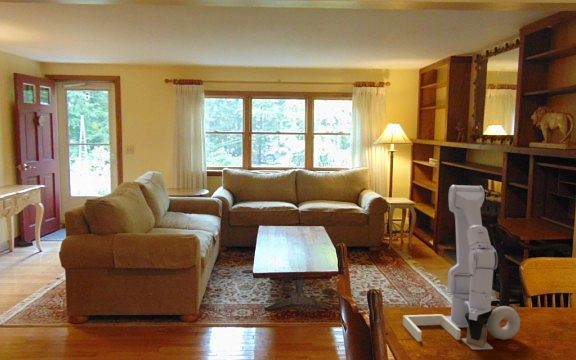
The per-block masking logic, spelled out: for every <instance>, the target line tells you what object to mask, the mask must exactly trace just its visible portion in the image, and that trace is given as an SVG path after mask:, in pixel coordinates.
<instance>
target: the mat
mask: <svg viewBox="0 0 576 360" xmlns="http://www.w3.org/2000/svg"><path fill="white" fill-rule="evenodd" d="M461 340H462V342H464V344H466V345H467V346H468V347H469V348H470V349H472V350H493V349H494V347H493V346H492V345H490V344H489V343H488V342H486V343H485V345H484V346H483V347H479V346H476V345H472V344H469V343H466V337H465V338H461Z"/></svg>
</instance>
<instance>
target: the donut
mask: <svg viewBox="0 0 576 360" xmlns="http://www.w3.org/2000/svg"><path fill="white" fill-rule="evenodd" d="M492 310H493V312H492V313H491V315H490V317H489V319H488V321H487V324H486V325H488V328H487V331H488V332H489V334H491V335H492V337H494V338H495V339H498V340H502V341H503V340H509V339H511V338H513V337H514V336H516V334H517V333H518V332H519V330H520V328H521V327H520V326H521V319H520V316H519V313H518V312H517V311H516V309H514V308H512V307H510V306H507V305H502V306H498V307H496V308H493V309H492ZM505 318H506V320H507V323H506V325H504V326H503V327H501V326H500V325H501V324H500V323H501V321H502V320H504V319H505Z"/></svg>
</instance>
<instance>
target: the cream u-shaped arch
mask: <svg viewBox="0 0 576 360" xmlns="http://www.w3.org/2000/svg"><path fill="white" fill-rule="evenodd" d="M445 316H446V315H444V314H442V313H441V314H439V313H435V314H413V315H412V314H407V315H402V325H403V327H404V328H405V329H406V330H407V331H408V333H410V334H411V336H412V337H413V338H414V339H415V341H417V342H418V343H419V342H422V330H421V329H420V328H419V327H418V326H441V327H442V328H443V329H444V330H445V331H446V332H448V334H450V335H451V336H452V337H453V338H454V339H455V340H456V341H461V333H462V330H461V328H458V327H457V326H455V325H454V324H453V323H452V322H451V321H450V320H448V319H447V318H446V317H445Z"/></svg>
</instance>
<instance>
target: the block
mask: <svg viewBox="0 0 576 360" xmlns="http://www.w3.org/2000/svg"><path fill="white" fill-rule="evenodd" d="M487 337H488V325H487V324H486V325H485V324H484V326H483V328H482V332H481V337H480V339H479V341H478V340H474V339H471V336H470V330H469V325H468V326H467V327H466V337H465V338H466V343H469V344H472V345H476V346H479V347H483V346H484V345H485V343H486V342H487ZM466 343H465V344H466ZM487 343H488V342H487Z"/></svg>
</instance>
